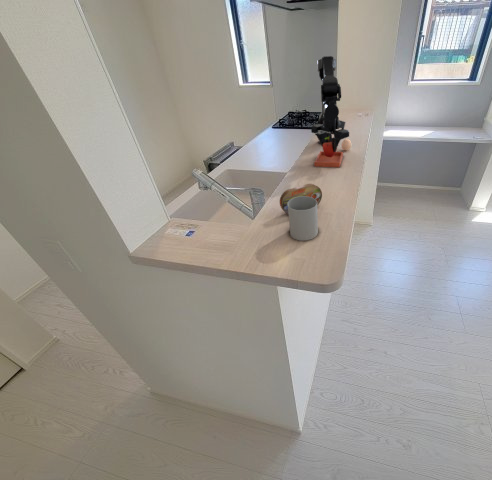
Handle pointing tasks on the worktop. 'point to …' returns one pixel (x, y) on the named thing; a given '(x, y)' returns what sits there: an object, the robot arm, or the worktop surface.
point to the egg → (346, 144)
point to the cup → (303, 217)
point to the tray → (328, 160)
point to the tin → (300, 194)
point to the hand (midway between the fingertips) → (329, 150)
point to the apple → (328, 148)
